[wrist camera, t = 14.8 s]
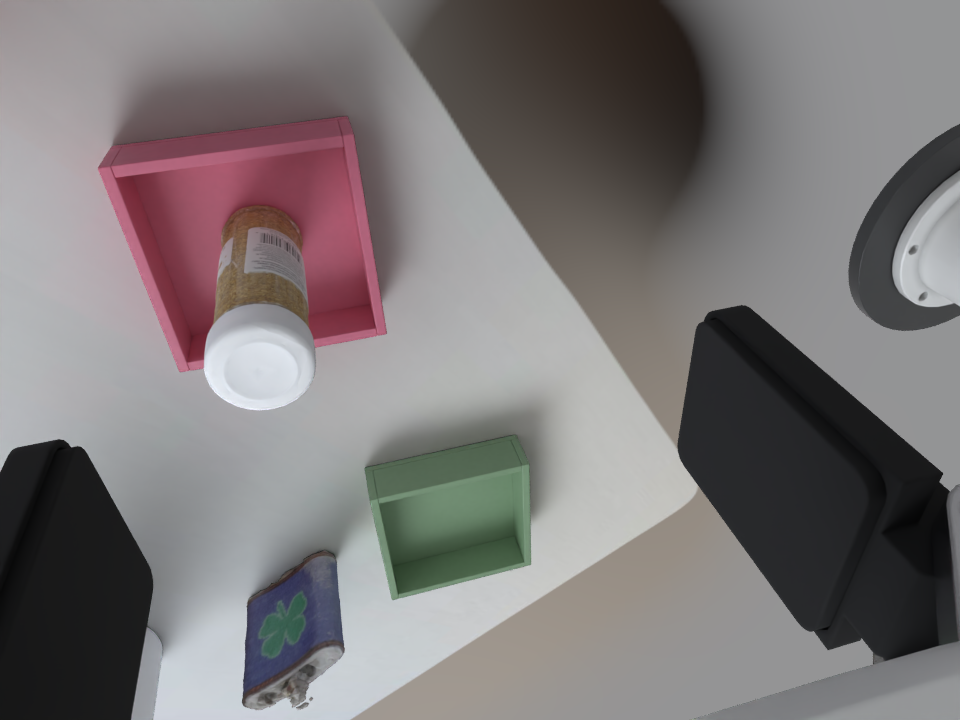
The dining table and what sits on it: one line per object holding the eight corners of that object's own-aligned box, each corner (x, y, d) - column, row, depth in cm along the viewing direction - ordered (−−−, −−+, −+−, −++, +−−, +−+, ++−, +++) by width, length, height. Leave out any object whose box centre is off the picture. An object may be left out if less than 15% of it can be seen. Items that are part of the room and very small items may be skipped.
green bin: (516, 434, 53) (529, 463, 50) (519, 534, 60) (531, 565, 57) (364, 467, 51) (369, 500, 48) (386, 567, 58) (392, 600, 55)
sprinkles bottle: (203, 232, 37) (176, 367, 27) (267, 186, 37) (266, 305, 26) (260, 289, 40) (256, 431, 29) (320, 246, 40) (338, 376, 29)
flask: (322, 545, 54) (332, 665, 46) (346, 560, 56) (359, 678, 48) (238, 603, 56) (232, 730, 47) (264, 616, 58) (263, 741, 49)
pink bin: (347, 115, 36) (353, 133, 33) (379, 306, 43) (387, 334, 41) (111, 145, 34) (97, 167, 31) (185, 341, 41) (179, 373, 38)
